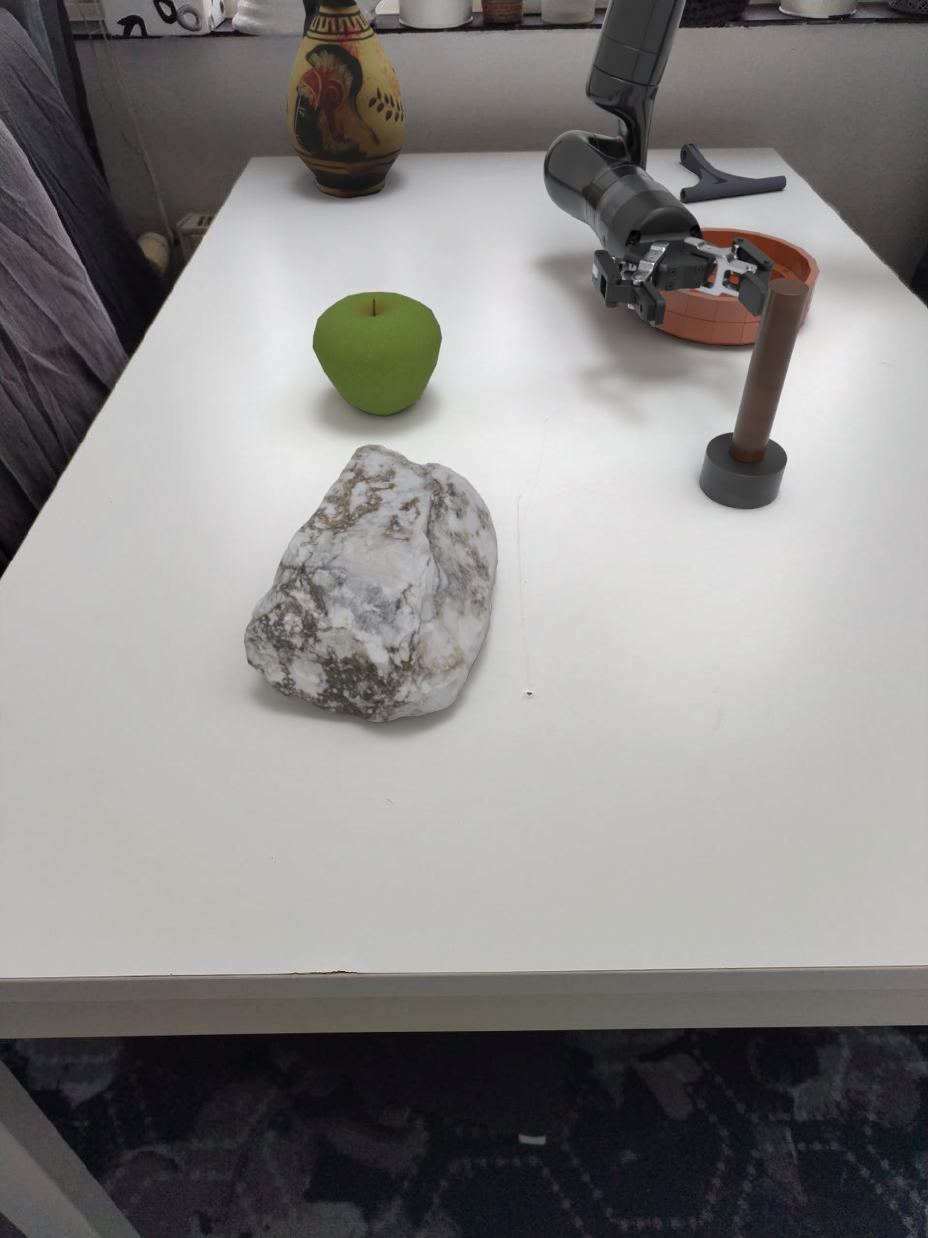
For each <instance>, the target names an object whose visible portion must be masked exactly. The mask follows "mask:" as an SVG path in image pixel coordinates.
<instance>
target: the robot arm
mask: <svg viewBox="0 0 928 1238" xmlns="http://www.w3.org/2000/svg"><path fill="white" fill-rule="evenodd" d="M686 3H687V0H609V2H608V5H607V8H606V11H605V15H604V18H603V22H602V25H601V29H600V32H599V36H598V39H597V42H596V45H595V50H594V52H593V57H592V60H591V63H590V67H589V69H588V73H587V77H586V81H585V90H584V91H585V96H586V98H587V100H588V101H589V102H590V103H591V104H592V105H593V106H595V107H596V108H598V109H600V110H602V111H604V112H605V113H607V114H609V115H611V116H613V117H615V118H616V119H617V123H618V124H617V125H618V126H617V133H616V136H615V137H613V136H608V135H604V134H600V133H595V132H590V131H585V130H579V129H571V130H567V131H564V132H563V133H561V134H559V135H558V136H557V137H556V138H555V139H554V140H553V141H552V142H551V144H550V145H549V147H548V150H547V151H546V154H545V155H544V156H545V157H544V161H543V167H542V177H543V178H542V179H543V183H544V187H545V190H546V192H547V195H548V197H549V198H550V200H551V201H552V202H553V204H554V205H556V207H557V208H559V209H560V210H562V212H565V213H567V214H568V215H570V216H572V217H573V218H575V219H576V220H578V221H580V222H582V223H584V224H586V225H588V226H589V228H590V229H591V230H592V231H593V233H594V234H595V235H596V237H597V238H598V241H599V243H600V245H601V247H602V249H596V250H594V252H593V259H592V260H593V261H592V271H591V282H592V285H593V286H594V288H595V290H596V291H597V294H598V296H599V298H600V299H601V301H602V303H603V305H604V307H606V308H608V309H616V308H618V307H620V303H621V304H627V307H628V309H631V310H634V311H635V312H636V313H637V315H638V316H639V315H640V316H639V317H640V319H641V320H643V322H645V323H649V325H650V326H651V327H652V328H657V327H659V326H662V325H663V321H664V314H665V308H666V302H665V299H664V298H663V296H662V295H661V294H660V293H659V292H660V291H662V290H664V291H674V290H678V289H686V290H690V289H695V290H698V291H701V292H704V293H707V294H710V295H713V296H719V295H720V294H722V293H726V294H729V295H732V296H735V297H738V300H739V301H740V302H741V303H742V304H743V305H744V306H745V308H746V309H747V310H748V311H749V312H750V313H751V314H752V315H753V316H754V317H759V316H761V314H762V309H763V305H764V301H765V297H766V292H767V288H768V284H769V281H770V277H771V273H772V269H773V267H774V261H773V260H772V259H770V258H769V257H768V256H767V255H765V254H764V253H763V252H762V251H761V250H759V249H758V248H757V247H756V246H754V245H753V244H752V243H751V242H750V241H748V240H747V239H745V238H743V237H737V238H734V239H733V244H732V247H729V248H718V247H717V246H716V245H714V244H712V243H710V242H707V241H705V240H704V237H703V234H702V231H701V228H702V227H701V226H700V224H699V221H698V219H697V217H695V215H694V214H693V213H692V212H691V211H690V210H689V208H687V207H686V206H685V205H684V204H683V202H682V201H681V200H679V199H678V197H676V196H675V195H674V194H673V193H672V192H671V191H670V190H669V189H668V188H667V187H666V186H665V185H663V184H662V183H660V182H658V181H656V180H655V179H654V178H653V177H652V176H651V175H650V174H649V173H648V172H647V163H648V151H649V138H650V133H651V132H650V131H651V124H652V118H653V113H654V106H655V102H656V98H657V94H658V91H659V88H660V84H661V82H662V80H663V76H664V74H665V70H666V67H667V64H668V61H669V58H670V55H671V53H672V49H673V47H674V44H675V40H676V37H677V33H678V30H679V27H680V24H681V20H682V16H683V12H684V9H685V6H686ZM717 265H718V267H717V272H716V277H715V282H711V281H708V279H709V277H710V276H711V274H712V273H713V271H714V270H715V268H716V266H717ZM730 274H735V275H736V276H737V277H739V281H738V285H737V284H734V283H732V282H730ZM623 278H624V279H623Z"/></svg>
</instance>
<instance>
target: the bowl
mask: <svg viewBox="0 0 928 1238" xmlns="http://www.w3.org/2000/svg"><path fill="white" fill-rule="evenodd" d="M700 228H701V231H702V234H703V237H704V240H705V241H707V242H710V243H712V244H714V245H716V246H717V247H718V248H729V247H732V244H733V239H734V238H737V237H743V238H745V239H747V240H748V241H750V242H751V243H752V244H753V245H754V246H756V247H757V248H758V249H759V250H761V251H762V252H763V253H764V254H765V255H767V256H768V257H769V258H770V259H772V260H773V261H774V267H773V269H772V273H771V277H770V281H769V283H770V282H771V281H772V280H774V279H778V278H791V279H797V280H800V281H802V282H804V283H806V284H807V285H808V286H809V293H808V297H807V300H806V304H805V308H804V312H803V315H802V319H801V323H800V326H799V328H800V327H801V326H802V325H804V323H805V321H806V319H807V316H808V314H809V312H810V308H811V305H812V300H813V298H814V297H813V296H814V295H815V294H814V293H815V290H816V285H817V282H818V279H819V275H820V268H819V266H818V263H817V260H816V259H815V258H814V257H813V256H812V255H811V254H810V253H808V251H806V250H805V249H804V248H802V247H800V246H798V245H796V244H794V243H793V242H790V241H787V240H785V239H783V238H780V237H777V236H773V235H770V234H766V233H762V232H760V231H753V230H746V229H739V228H731V227H700ZM717 267H718V265H717V266H716V268H715V270H714V271H713V273H712V274H711V276H710V277H709V279H708V281H711V282H715V277H716V272H717ZM738 281H739V277H737V276H736V275H735V274H730V282H732V283H734V284H737V285H738ZM659 293H660V294H661V295H662V296H663V298H664V299H665V302H666V308H665V314H664V321H663V325H662V326H659V327H656V328H657V329H659V330H661V331H663V332H665V333H668V334H669V335H671V336H672V335H673V336H675V337H677V338H679V339H684V340H687V341H690V342H696V343H701V344H706V345H716V346H720V345H721V346H741V345H751V344H754V343H755V339H756V335H757V331H758V326H759V322H760V318H761V316H759V317H754V316H753V315H752V314H751V313H750V312H749V311H748V310H747V309H746V308H745V306H744V305H743V304H742V303H741V302H740V301H739V300H738V297H735V296H732V295H729V294H726V293H722V294H720V295H719V296H713V295H710V294H707V293H704V292H701V291H698V290H695V289H690V290H686V289H678V290H674V291H664V290H662V291H660V292H659ZM638 316H639V317H640V315H638Z"/></svg>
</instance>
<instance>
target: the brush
mask: <svg viewBox="0 0 928 1238" xmlns="http://www.w3.org/2000/svg"><path fill="white" fill-rule="evenodd" d="M808 293H809V286H808V285H807V284H806V283H804V282H802V281H800V280H797V279H791V278H778V279H774V280H772V281H771V282H770V283H769V284H768V288H767V292H766V297H765V301H764V305H763V309H762V314H761V318H760V322H759V326H758V331H757V335H756V339H755V343H753V347H752V348H753V349H752V353H751V357H750V361H749V365H748V370H747V372H746V378H745V382H744V386H743V390H742V395H741V398H740V404H739V408H738V412H737V416H736V420H735V425H734V429H733V431H731V432H726V433H722V434H719V435H717V436H715V437H714V438H712V439H711V440H709V442H708V443H707V445H706V449H705V453H704V458H703V463H702V468H701V473H700V475H699V476H700V477H699V485H700V488H701V490H702V491H703V493H704V494H705V495H706V496H707V497H708V498H709V499H711V500H713V501H715V502H716V503H719V504H720V505H723V506H727V507H730V508H735V509H744V510H745V509H746V510H747V509H750V510H751V509H758V508H762V507H765V506H767V505H769V504H770V503H772V502H773V501H775V499H776V498H777V496H778V493H779V491H780V487H781V484H782V479H783V477H784V474H785V470H786V467H787V464H788V454H787V452H786V450H785V449H784V447H783V446H781V445H780V444H779V443H778V442H777V441H775V440H773V439H771V438H770V436H771V432H772V430H773V425H774V422H775V417H776V414H777V411H778V408H779V404H780V399H781V396H782V392H783V389H784V385H785V381H786V379H787V374H788V370H789V368H790V367H789V366H790V363H791V359H792V356H793V352H794V349H795V345H796V342H797V341H796V340H797V337H798V334H799V329H800V327H801V326H800V323H801V319H802V315H803V312H804V308H805V304H806V300H807V297H808ZM799 326H800V327H799Z"/></svg>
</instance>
